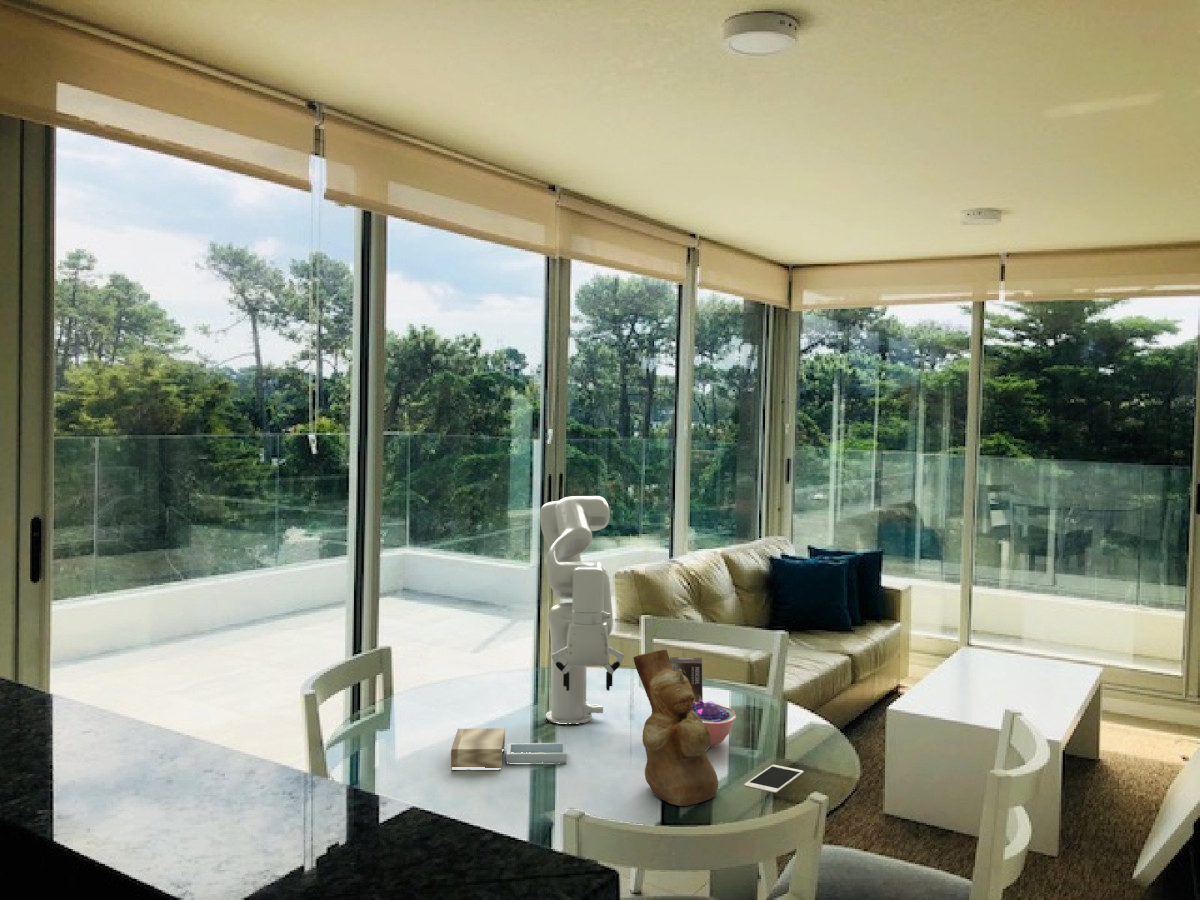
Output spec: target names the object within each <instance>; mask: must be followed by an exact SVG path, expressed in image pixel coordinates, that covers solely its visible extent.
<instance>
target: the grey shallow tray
mask: <svg viewBox="0 0 1200 900" xmlns="http://www.w3.org/2000/svg"><path fill="white" fill-rule="evenodd" d="M511 752H514V753H511ZM521 752H523V753H521ZM526 752H527V753H526ZM529 752H531V753H529ZM534 752H545V753H534ZM505 754H506V758H505V759H506V762H508V763H542V762H543V763H560V764H559V765H567V743H566V742H527V743H525V742H515V743H514V742H513V743H512V742H511V743H510V742H509V743H507V749H506V753H505Z"/></svg>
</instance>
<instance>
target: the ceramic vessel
mask: <svg viewBox="0 0 1200 900" xmlns="http://www.w3.org/2000/svg"><path fill="white" fill-rule="evenodd" d="M632 659H633V662H634V666H635V669H636V672H637V674H638V676H639V677H638V678H639V679H640V681H641V684H642V686H643V689H644V691H645V694H646V698H647V699H648V701H649V704H650V707H651V714H650V716H649V717H647V719H646V721H645V722H644V724H643V725H644V726H643V730H642V735H641V736H642V737H641V738H642V743H643V744H642V745H643V747H644V748H645V752H646V763H645V768H644V779H645V781H646V783H647V784H648V786H649V788H650V789H651V791H652V794H653V795H654V797H657V798H658V799H660V800H662V801H665V802H666V803H668V804H671V805H674V806H675V805H676V806H680V807H682V806H683V807H686V806H691V805H695V804H699V803H702V802H707V801H709V800H710V799H713V798H714V797H715V796H716V794H717V791H718V789H719V779H718V774H717V772H716V770H715V768H714V766H713V765H712V763H711V760H710V759H709V757H708V755H707V753H706V752H707V750H708V749H710V747H709V746H710V734H709V731H708V729H707V727H706V726H705V725H704V724H703V722H702V720H701V719H700V717H699V716H698V715H697V713H695V712H694V711H692V710H691V709H692V708H693V701H694V694H693V691H692V687H691V685H690V683H689V681H688V679H687V678H686V677H685V676H684V675H683V672H682V670H681V669H678V670H677V672H675V671H674V670H673V668H672V665H671V663H670V655H669V652H668V650H667V649H666V648H664V649H659V650H654V651H651V652H650V651H649V652H646V653H642V654H638V655H635V656H634V657H632Z"/></svg>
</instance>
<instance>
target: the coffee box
mask: <svg viewBox="0 0 1200 900" xmlns="http://www.w3.org/2000/svg"><path fill="white" fill-rule="evenodd" d="M669 659H670V663H671V665H672V668H673V670H674V671H675V672H677V670H678V669H681V670H682V672H683V675H684V676H685V677H686V678H687V679H688V681H689V683H690V685H691V687H692V691H693V694H694V701H693V702H696V703H698V702H699V700H701V701H702V702H704V700H703V698H704V697H703V658H702V657H680V656H679V657H678V656H677V657H675V656H674V657H671V656H669Z"/></svg>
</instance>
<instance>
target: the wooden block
mask: <svg viewBox="0 0 1200 900" xmlns="http://www.w3.org/2000/svg"><path fill="white" fill-rule="evenodd" d="M504 747H505V748H506V727H505V728H501V727H500V728H496V727H495V728H492V727H491V728H490V727H489V728H457V731H456V734H455V736H454V740H453V742H452V746H451V748H450V768H451V767H485V768H501V766H502V767H503V753H502V749H504Z"/></svg>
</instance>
